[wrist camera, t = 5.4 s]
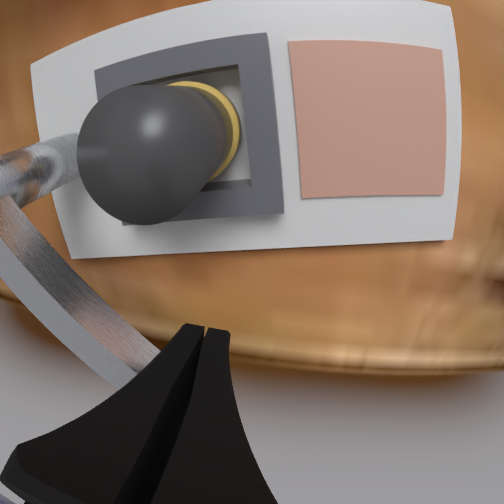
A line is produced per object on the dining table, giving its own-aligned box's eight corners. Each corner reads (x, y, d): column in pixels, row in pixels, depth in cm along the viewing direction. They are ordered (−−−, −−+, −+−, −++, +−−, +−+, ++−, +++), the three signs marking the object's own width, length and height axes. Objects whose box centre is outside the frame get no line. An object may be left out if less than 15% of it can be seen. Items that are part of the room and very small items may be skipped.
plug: (261, 148, 13) (245, 186, 8) (179, 193, 15) (123, 254, 9) (210, 63, 12) (159, 45, 6) (131, 117, 13) (50, 139, 8)
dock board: (443, 9, 10) (465, 0, 8) (446, 233, 15) (464, 252, 13) (39, 64, 12) (12, 65, 10) (78, 252, 18) (58, 271, 16)
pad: (440, 50, 10) (441, 49, 10) (441, 193, 13) (443, 194, 13) (288, 41, 11) (288, 41, 11) (301, 196, 14) (301, 198, 14)
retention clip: (50, 156, 14) (-57, 206, 7) (72, 123, 13) (-45, 159, 6) (214, 326, 18) (181, 439, 11) (246, 305, 17) (223, 426, 10)
